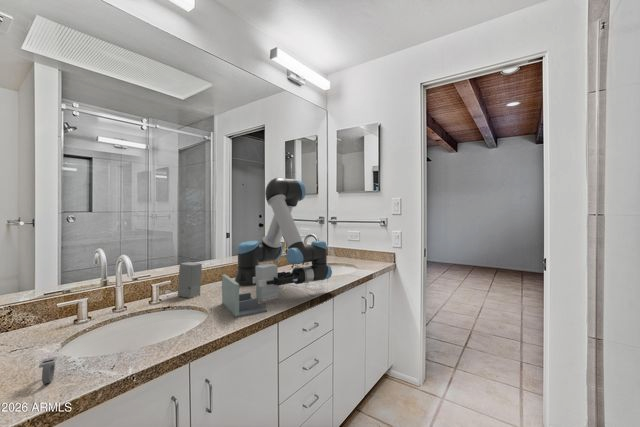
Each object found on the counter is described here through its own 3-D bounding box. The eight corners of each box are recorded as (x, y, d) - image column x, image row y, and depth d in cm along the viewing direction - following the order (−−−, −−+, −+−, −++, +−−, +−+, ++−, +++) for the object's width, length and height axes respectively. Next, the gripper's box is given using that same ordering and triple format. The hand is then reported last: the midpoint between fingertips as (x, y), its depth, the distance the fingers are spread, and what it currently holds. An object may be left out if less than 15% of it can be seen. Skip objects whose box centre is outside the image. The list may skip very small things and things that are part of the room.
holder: (222, 303, 124) (222, 274, 124) (250, 298, 131) (250, 271, 131) (235, 318, 107) (235, 284, 107) (267, 311, 114) (267, 279, 114)
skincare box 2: (271, 295, 130) (271, 262, 130) (278, 298, 125) (278, 264, 125) (255, 298, 124) (254, 265, 124) (261, 301, 120) (261, 266, 120)
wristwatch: (43, 377, 69) (43, 356, 69) (58, 373, 71) (58, 353, 71) (37, 390, 64) (37, 368, 64) (53, 385, 66) (53, 364, 66)
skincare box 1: (177, 296, 134) (177, 263, 134) (189, 292, 141) (189, 261, 141) (190, 298, 131) (190, 264, 131) (202, 294, 138) (202, 262, 138)
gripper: (312, 287, 126) (264, 296, 114) (292, 279, 142) (248, 285, 130) (312, 270, 126) (264, 277, 114) (292, 264, 142) (248, 269, 130)
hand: (255, 281), depth 122 cm, fingers closed on skincare box 2, 6 cm apart
